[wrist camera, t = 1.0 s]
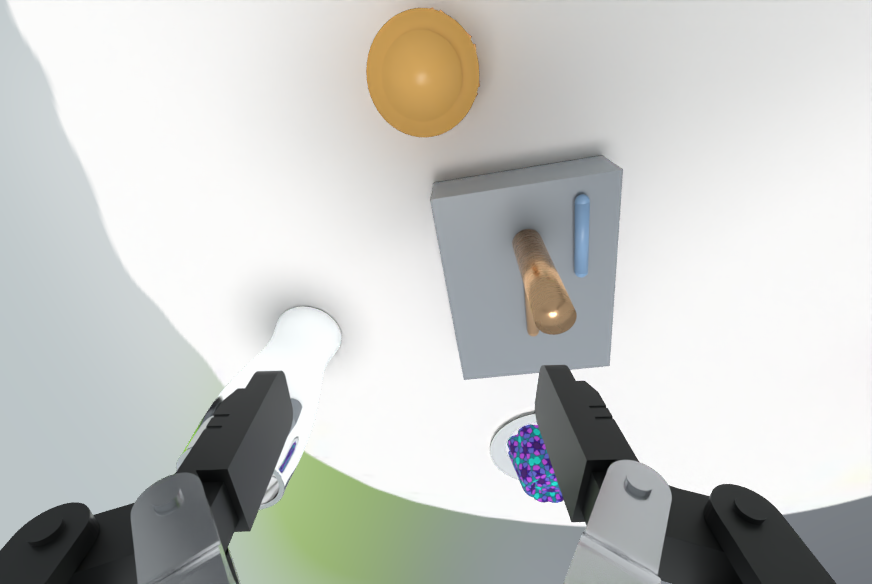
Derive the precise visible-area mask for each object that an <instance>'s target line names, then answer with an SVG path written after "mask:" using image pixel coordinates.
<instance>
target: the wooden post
mask: <svg viewBox="0 0 872 584" xmlns="http://www.w3.org/2000/svg"><path fill="white" fill-rule="evenodd" d="M512 246H513V250H514V253H515V256H516V260H517V263H518V267H519V270H520V274H521V277H522V280H523V284H524V287H525V291H526V294H527V298H528V301H529V304H530V308H531V311H532V315H533V318H534V322H535V325H536V327H537V328H538V329H539V330H540V331H541V332H543V333H545V334H550V335H557V334H561V333H564V332H566V331H568V330H569V329H570V328H571V327H572V326H573V325H574V323H575V321H576V318H577V313H576V310H575V308H574V306H573V304H572V302H571V300H570V297H569V295H568V293H567V291H566V289H565V287H564V285H563V282H562V280H561V278H560V276H559V274H558V272H557V270H556V267H555V265H554V263H553V261H552V259H551V257H550V255H549V253H548V250H547V248H546V246H545V244H544V242H543V240H542V238H541V235H540V234H539V233H538V232H537V231H535V230H533V229H524V230H522V231H520V232H518V233H517V234H516V235H515V237H514V238H513V242H512Z"/></svg>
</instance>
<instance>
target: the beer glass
mask: <svg viewBox="0 0 872 584" xmlns="http://www.w3.org/2000/svg"><path fill="white" fill-rule="evenodd" d="M341 339H342V336H341V331H340V328H339V326H338V324H337V323H336V322H335V320H334V319H333V318H332V317H331V316H329V315H328V314H327V313H325V312H323V311H321V310H319V309H316V308H313V307H307V306H299V307H294V308H291V309H289V310H287V311H285V312H284V313H283V314H282V315H281V316H280V318H279V319H278V321H277V324H276V327H275V330H274V333H273V336H272V338H271V339H270V341H269V343H268V344H267V345H266V346H265V348H264V349H263V350H262V351H261V352H260V353H259V354H258V355H257V356H256V357H254V358H253V359H252V360H251V361H250V362H249V363H248V364H247V365H246V366H245V367H244V368H243V369H242V370H241V371H240V372H239V373H238V374H237V375H236V376H235V377H234V378H233V379H232V380H231V381H230V382H229V383H228V384H227V385H226V387H225V388H224V389H223V390H222V392H221V393H220V394H219V396H218V397H217V398H216V399H215V401H214V402H213V404H212V405H211V407H210V408H209V410H208V411H207V413H206V414H205V416H204V417H203V419H202V420H201V422H200V424H199V425H198V427H197V429H196V430H195V432H194V434H193V436H192V438H191V439H190V441H189V443H188V445H187V446H186V448H185V450H184V451H183V453H182V454H181V455H180V457H179V458H178V460H177V463H176V471H177V470H178V469H179V467H180V465H181V464H182V462H183V461H184V459H185V458H186V456H187V455H188V453H189V452H190V450H191V449H192V447H193V446H194V444H195V443H196V441H197V439H198V438H199V436H200V435H201V433H202V432H203V430H204V429H206V426H207V424H208V423H209V421H210V420H211V418H212V417H214V413H215V412H216V410H217V409H218V407H219V406H220V404H221V403H222V401H223V400H224V399H225V398H227V397H228V396H229V395H230V394H232V393H233V392H234V391H235V390H236V389H238V388H246V386H247V385H248V383H249V381H250V380H251V378H252V376H253V375H254V373H255V372H257V371H283V372H284V374H285V377H286V381H287V385H288V390H289V394H290V398H291V403H292V407H293V421H292V426H291V429H290V432H289V434H288V437H287V439H286V442H285V445H284V447H283V450H282V452H281V455H280V457H279V460H278V462H277V465H276V467H275V470H274V472H273V475H272V477H271V480H270V482H269V485H268V487H267V490H266V493H265V495H264V498H263V500H262V503H261V505H260V508H259V510H260V509H264V508H268V507H270V506H272V505H274V504H276V503H277V502H278V501H279V500H280V499H281V498H282V496H283V494H284V491H285V489H286V487H287V484H288V482H289V480H290V478H291V476H292V474H293V472H294V471H295V469H296V466H297V464H298V462H299V460H300V458H301V456H302V454H303V451H304V449H305V447H306V444H307V442H308V439H309V437H310V434H311V431H312V428H313V425H314V421H315V417H316V413H317V409H318V403H319V398H320V392H321V386H322V380H323V375H324V371H325V368H326V366H327V364H328V362H329V361H330V359H331V358H332V357H333V355H334V354H335V353H336V351H337V350H338V348H339V346H340V344H341Z"/></svg>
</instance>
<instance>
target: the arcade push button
mask: <svg viewBox="0 0 872 584" xmlns="http://www.w3.org/2000/svg"><path fill="white" fill-rule="evenodd" d="M471 37H472V36H470V35H469V34H468V33H467V32H466V31H465V30H464V29H463V27H462V26H461V25H460V24H459V23H458V22H457V21H455V20H454V19H453V18H451V17H450V16H448V15H446V14H445V13H444V12H443V11H441V10H440V11H437V10H434V8H415V9H410V10H406V11H403V12H401V13H399V14H397V15H395V16H394V17H393V18H391V19H390V20H389V21H388V22H386V23H385V24H384V25H383V27H382V28H381V29H380V30H379V32H378V33H377V35H376V37H375V38H374V40H373V43H372V45H371V47H370V51H369V54H368V60H367V70H366V73H367V83H368V89H369V92H370V95H371V98H372V100H373V103H374V105H375V106H376V108H377V110H378V111H379V113H380V114H381V116H382V117H383V118H384V119H385V120H386V121H387V122H388V123H389V124H390V125H391V126H393V127H394V128H396V129H397V130H399V131H401V132H403V133H405V134H408V135H411V136H416V137H433V136H437V135H440V134H443V133H445V132H447V131H449V130H450V129H452V128H453V127H455V126H456V125H457V124H458V123H459V122H460V121H461V120H462V119H463V118H464V117H465V116H466V114H467V113H468V111H469V110H470V108H471V106H472V104H473V102H474V100H475V97H476V96H477V95H478V93H477V89H478V87H480V84H479V64H478V58H477V54H476V45H475V44H473V43H472V41H471Z"/></svg>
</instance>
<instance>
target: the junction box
mask: <svg viewBox="0 0 872 584" xmlns="http://www.w3.org/2000/svg"><path fill="white" fill-rule="evenodd" d="M622 174H623V169H622V168H620V167H619V166H617V165H616V164H614V163H613V162H611V161H610V160H608V159H607V158H605V157H604V156H602V155H601V156H595V157H589V158H582V159H576V160H570V161H564V162H558V163H552V164H546V165H540V166H534V167H527V168H521V169H515V170H509V171H503V172H497V173H491V174H485V175H479V176H472V177H466V178H460V179H454V180H448V181H442V182H436V183H433V188H432V194H431V199H430V201H431V206H432V211H433V217H434V222H435V227H436V233H437V238H438V243H439V249H440V254H441V259H442V265H443V270H444V276H445V281H446V286H447V292H448V297H449V302H450V308H451V313H452V318H453V324H454V329H455V334H456V340H457V345H458V351H459V356H460V361H461V367H462V372H463V377H464V380H468V379H478V378H489V377H499V376H509V375H520V374H530V373H539V372H540V368H541V366H542V365H567V366H568V368H569V369H570V370H572V369H582V368H593V367H603V366H610V351H611V336H612V322H613V307H614V292H615V277H616V263H617V248H618V233H619V219H620V204H621V189H622ZM524 229H533V230H535V231H537V232H538V233H539V234H540V235H541V238H542V240H543V242H544V244H545V246H546V248H547V250H548V253H549V255H550V257H551V259H552V261H553V263H554V265H555V267H556V270H557V272H558V274H559V276H560V278H561V280H562V282H563V285H564V287H565V289H566V291H567V293H568V295H569V297H570V300H571V302H572V304H573V306H574V308H575V310H576V313H577V318H576V321H575V323H574V325H573V326H572V327H571V328H570V329H569V330H568V331H566V332H564V333H561V334H557V335H550V334H545V333H543V332H541V331H540V330H539V329H538V328H537V327H536V325H535V322H534V318H533V315H532V311H531V308H530V304H529V301H528V298H527V294H526V291H525V287H524V284H523V280H522V277H521V274H520V270H519V267H518V263H517V260H516V256H515V253H514V250H513V246H512V242H513V238H514V237H515V235H516V234H517V233H518V232H520V231H522V230H524Z"/></svg>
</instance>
